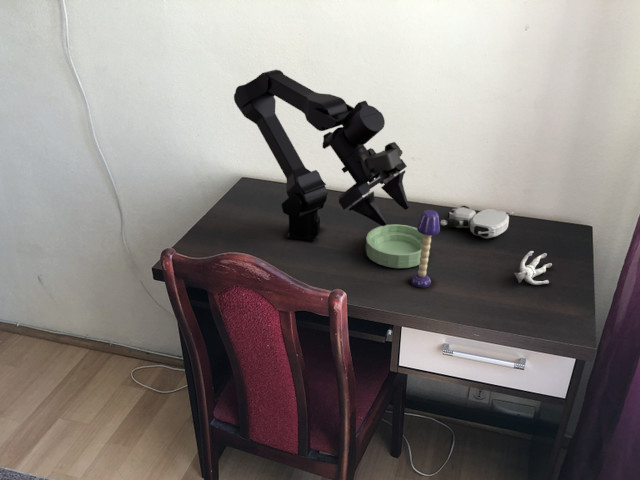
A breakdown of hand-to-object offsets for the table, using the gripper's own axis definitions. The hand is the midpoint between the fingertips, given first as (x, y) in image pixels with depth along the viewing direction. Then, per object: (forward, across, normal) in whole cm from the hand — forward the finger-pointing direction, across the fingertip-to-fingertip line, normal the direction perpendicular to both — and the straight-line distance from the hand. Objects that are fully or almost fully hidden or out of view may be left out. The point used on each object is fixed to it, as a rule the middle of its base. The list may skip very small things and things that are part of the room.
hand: (396, 216), depth 143 cm
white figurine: (+28, +16, -8) cm, 33 cm away
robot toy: (+14, +29, +5) cm, 32 cm away
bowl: (+7, +8, +12) cm, 16 cm away
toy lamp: (+15, 0, +4) cm, 16 cm away
